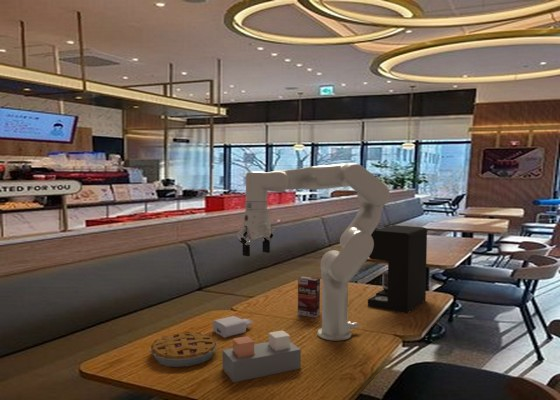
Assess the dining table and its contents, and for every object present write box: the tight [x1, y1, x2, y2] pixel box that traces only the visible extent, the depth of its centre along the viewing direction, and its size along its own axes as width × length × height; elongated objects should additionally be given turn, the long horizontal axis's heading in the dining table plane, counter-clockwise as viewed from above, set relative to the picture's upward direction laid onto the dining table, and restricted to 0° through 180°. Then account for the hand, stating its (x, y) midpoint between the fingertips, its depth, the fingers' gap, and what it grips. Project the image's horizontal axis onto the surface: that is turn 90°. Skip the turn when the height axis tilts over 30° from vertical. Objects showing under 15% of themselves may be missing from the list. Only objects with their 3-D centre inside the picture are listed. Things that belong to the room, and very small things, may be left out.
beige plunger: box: [268, 330, 291, 351], centre depth 144 cm, size 5×5×6 cm
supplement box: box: [297, 276, 321, 318], centre depth 194 cm, size 9×5×16 cm, turn 68°
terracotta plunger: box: [232, 335, 255, 358], centre depth 139 cm, size 5×5×6 cm
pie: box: [150, 331, 218, 368], centre depth 153 cm, size 22×22×5 cm
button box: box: [222, 341, 302, 383], centre depth 142 cm, size 22×10×6 cm, turn 116°
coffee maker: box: [367, 224, 428, 314], centre depth 213 cm, size 28×20×35 cm
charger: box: [212, 315, 254, 338], centre depth 176 cm, size 5×9×15 cm
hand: (256, 254), depth 164 cm, fingers open, 9 cm apart
